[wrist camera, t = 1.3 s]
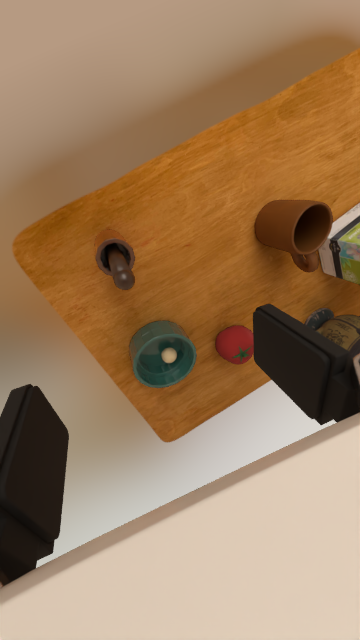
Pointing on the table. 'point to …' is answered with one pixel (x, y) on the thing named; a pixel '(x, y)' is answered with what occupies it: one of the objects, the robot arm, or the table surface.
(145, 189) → the table surface
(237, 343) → the tomato
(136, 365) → the bowl
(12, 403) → the robot arm
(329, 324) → the teapot
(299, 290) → the table surface
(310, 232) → the mug
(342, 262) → the tea box
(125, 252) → the crock
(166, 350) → the dough ball
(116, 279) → the stick
